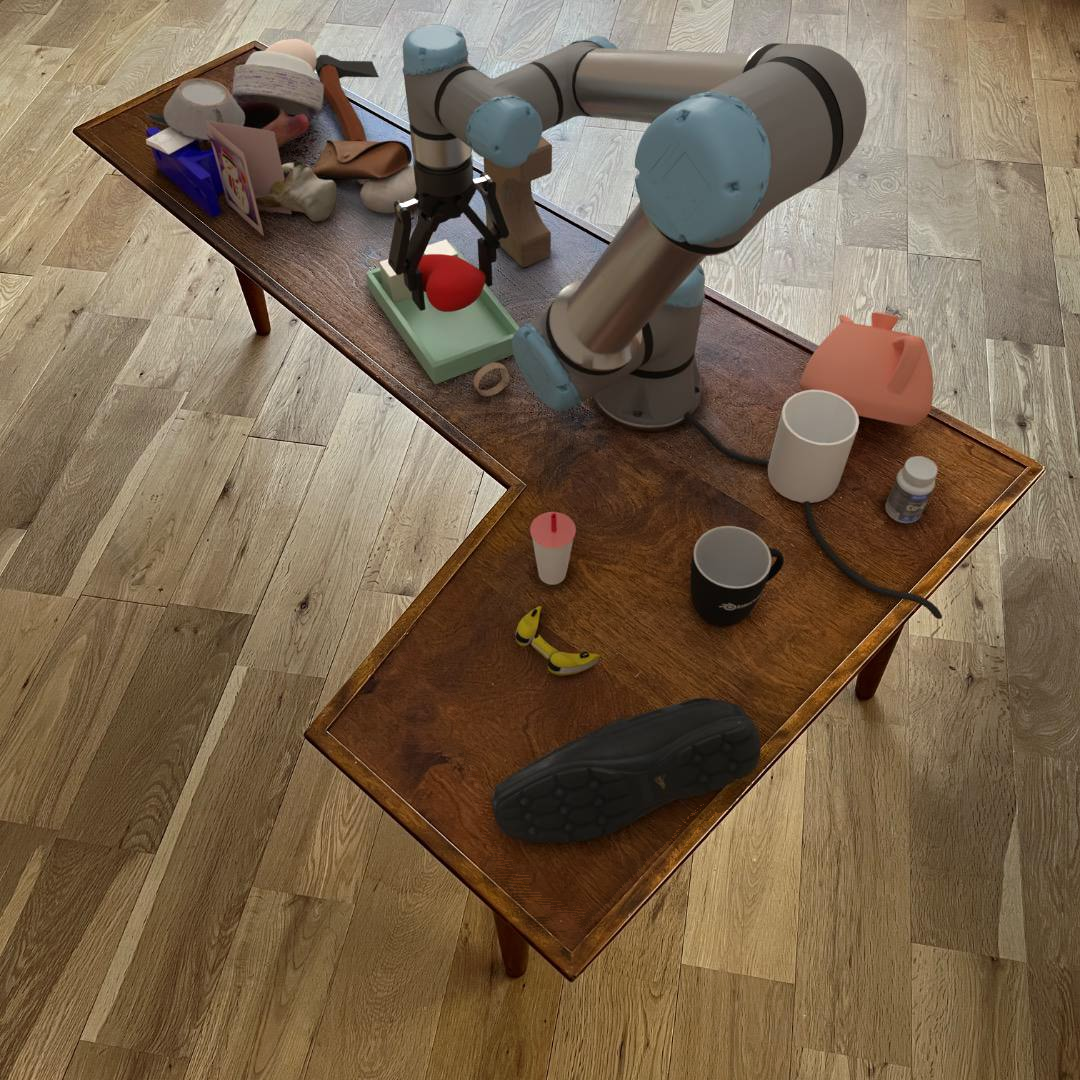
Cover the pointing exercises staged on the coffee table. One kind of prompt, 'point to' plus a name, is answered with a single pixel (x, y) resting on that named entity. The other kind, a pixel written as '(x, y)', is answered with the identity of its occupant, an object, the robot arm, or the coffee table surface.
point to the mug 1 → (730, 574)
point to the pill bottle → (911, 490)
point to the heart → (450, 281)
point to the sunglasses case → (362, 159)
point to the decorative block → (522, 206)
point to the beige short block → (393, 283)
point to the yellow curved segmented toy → (557, 660)
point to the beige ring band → (499, 387)
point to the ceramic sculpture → (301, 192)
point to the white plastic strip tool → (169, 140)
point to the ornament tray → (449, 331)
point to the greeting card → (246, 167)
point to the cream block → (441, 248)
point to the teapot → (874, 370)
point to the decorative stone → (389, 190)
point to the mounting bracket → (192, 173)
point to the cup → (552, 545)
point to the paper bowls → (279, 83)
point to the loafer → (627, 771)
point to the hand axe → (335, 96)
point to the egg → (295, 50)
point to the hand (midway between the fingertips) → (452, 292)
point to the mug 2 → (812, 445)
